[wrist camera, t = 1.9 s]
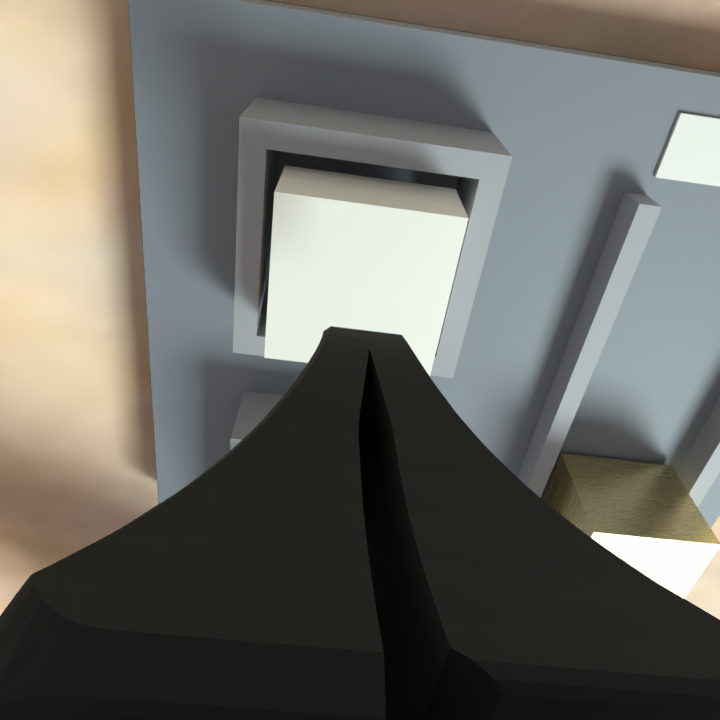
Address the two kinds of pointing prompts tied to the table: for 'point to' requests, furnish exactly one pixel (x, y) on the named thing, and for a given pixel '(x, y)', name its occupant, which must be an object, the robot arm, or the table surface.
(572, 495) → the slider knob
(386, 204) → the cream button
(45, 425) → the table surface
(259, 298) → the panel
